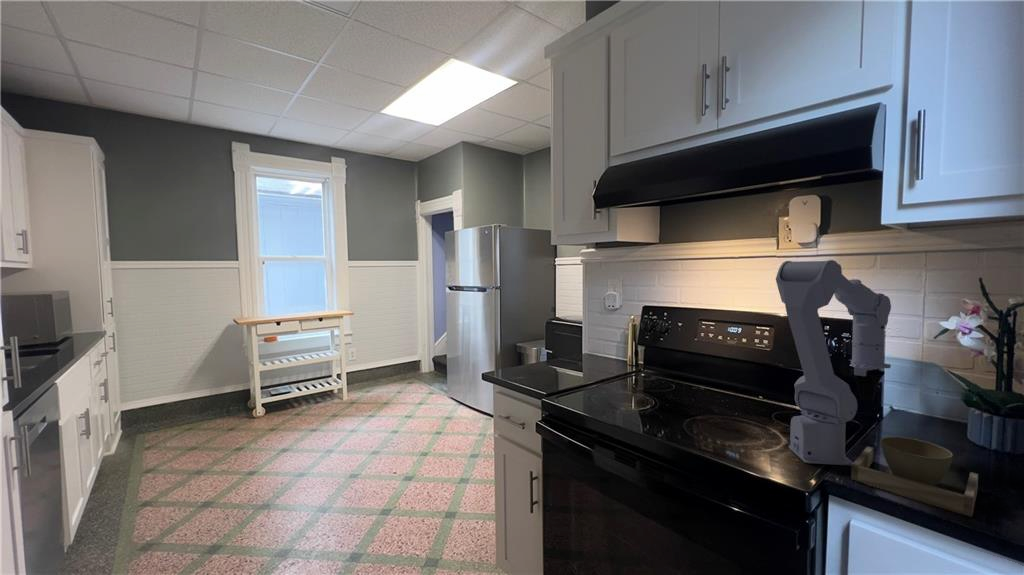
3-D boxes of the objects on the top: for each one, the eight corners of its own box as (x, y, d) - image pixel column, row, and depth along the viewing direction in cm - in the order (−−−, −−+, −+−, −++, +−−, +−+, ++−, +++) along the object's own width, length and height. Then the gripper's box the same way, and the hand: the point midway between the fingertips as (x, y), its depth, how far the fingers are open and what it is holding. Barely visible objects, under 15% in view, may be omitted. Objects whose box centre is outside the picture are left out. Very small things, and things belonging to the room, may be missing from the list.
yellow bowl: (967, 499, 75) (968, 460, 74) (902, 494, 77) (903, 456, 77) (925, 472, 85) (926, 437, 84) (868, 468, 87) (869, 434, 86)
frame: (972, 517, 70) (972, 499, 69) (851, 480, 82) (851, 465, 82) (977, 489, 78) (978, 473, 78) (867, 459, 90) (867, 446, 90)
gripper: (883, 350, 90) (882, 412, 91) (896, 341, 100) (895, 397, 100) (843, 346, 96) (842, 404, 97) (859, 338, 105) (858, 391, 106)
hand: (866, 400), depth 99 cm, fingers closed
